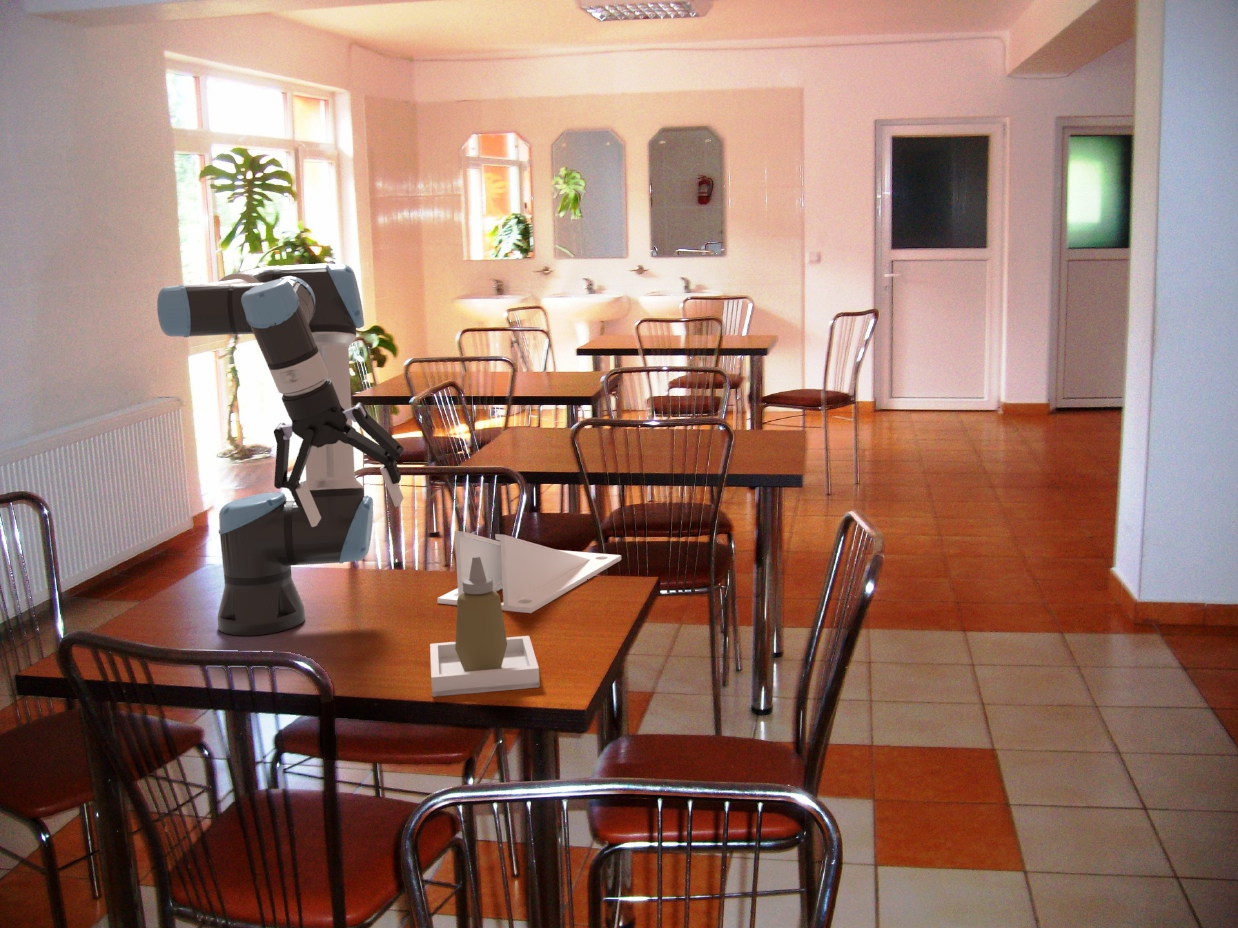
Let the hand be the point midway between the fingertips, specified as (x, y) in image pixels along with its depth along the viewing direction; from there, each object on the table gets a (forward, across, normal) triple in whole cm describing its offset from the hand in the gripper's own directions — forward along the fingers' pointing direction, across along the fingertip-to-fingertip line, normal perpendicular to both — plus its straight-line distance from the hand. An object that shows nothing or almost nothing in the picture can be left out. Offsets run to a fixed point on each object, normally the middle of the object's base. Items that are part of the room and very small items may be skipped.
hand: (357, 512), depth 182 cm
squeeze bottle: (+29, +11, -5) cm, 31 cm away
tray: (+29, +11, -5) cm, 32 cm away
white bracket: (+30, +5, +31) cm, 43 cm away
